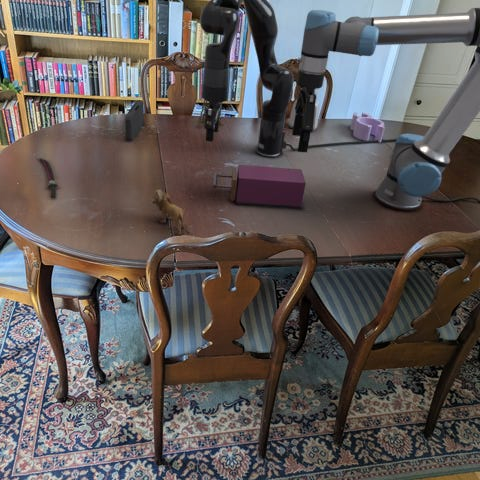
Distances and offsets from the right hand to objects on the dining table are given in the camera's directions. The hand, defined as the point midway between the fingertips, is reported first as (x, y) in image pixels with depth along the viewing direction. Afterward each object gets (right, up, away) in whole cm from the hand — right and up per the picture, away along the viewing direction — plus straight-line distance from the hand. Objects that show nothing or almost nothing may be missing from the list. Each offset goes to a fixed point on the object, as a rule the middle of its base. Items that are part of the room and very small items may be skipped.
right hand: (299, 143), depth 143 cm
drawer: (-14, -15, +9) cm, 23 cm away
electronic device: (+11, +22, +73) cm, 77 cm away
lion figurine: (-38, -25, -9) cm, 47 cm away
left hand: (-27, +2, +1) cm, 27 cm away
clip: (+39, +19, +73) cm, 85 cm away
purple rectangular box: (-9, -16, +10) cm, 21 cm away
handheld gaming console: (-61, +15, +50) cm, 80 cm away
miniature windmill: (-32, +21, +64) cm, 74 cm away
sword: (-81, -9, +9) cm, 82 cm away
